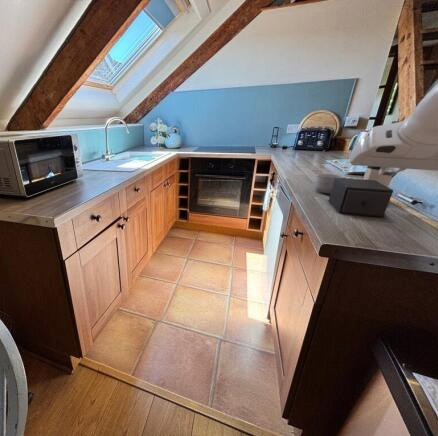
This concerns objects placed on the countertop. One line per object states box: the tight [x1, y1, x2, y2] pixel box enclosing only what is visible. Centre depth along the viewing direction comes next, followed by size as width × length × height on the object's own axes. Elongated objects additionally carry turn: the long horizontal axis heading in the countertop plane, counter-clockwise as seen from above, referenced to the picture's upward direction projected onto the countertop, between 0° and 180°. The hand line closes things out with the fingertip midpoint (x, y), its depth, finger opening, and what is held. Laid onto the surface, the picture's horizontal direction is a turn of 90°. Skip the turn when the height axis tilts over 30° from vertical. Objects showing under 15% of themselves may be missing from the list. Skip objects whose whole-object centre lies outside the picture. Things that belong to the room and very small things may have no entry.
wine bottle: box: [362, 120, 402, 188], centre depth 96 cm, size 8×8×30 cm
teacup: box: [314, 173, 355, 195], centre depth 108 cm, size 14×11×8 cm
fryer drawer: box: [342, 189, 393, 217], centre depth 87 cm, size 15×11×8 cm
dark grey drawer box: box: [328, 177, 394, 218], centre depth 89 cm, size 15×13×10 cm
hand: (385, 173), depth 67 cm, fingers closed
